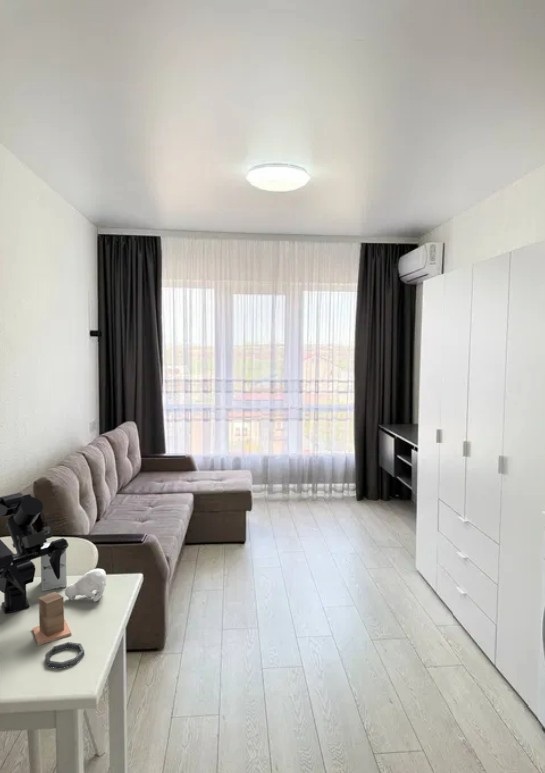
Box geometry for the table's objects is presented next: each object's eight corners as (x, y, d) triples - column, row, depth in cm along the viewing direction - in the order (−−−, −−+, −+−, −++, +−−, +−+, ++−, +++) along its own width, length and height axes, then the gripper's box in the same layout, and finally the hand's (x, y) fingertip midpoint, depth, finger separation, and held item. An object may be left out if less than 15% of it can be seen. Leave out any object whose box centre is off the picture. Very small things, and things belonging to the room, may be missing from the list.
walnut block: (39, 630, 131) (38, 597, 130) (55, 623, 134) (55, 591, 134) (47, 637, 128) (47, 603, 127) (64, 629, 132) (63, 596, 131)
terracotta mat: (32, 630, 132) (32, 627, 132) (64, 620, 137) (64, 618, 137) (38, 645, 126) (38, 642, 126) (71, 634, 130) (71, 632, 130)
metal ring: (43, 654, 122) (43, 649, 122) (78, 643, 127) (78, 638, 127) (50, 672, 115) (49, 667, 115) (87, 660, 120) (87, 655, 120)
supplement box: (41, 592, 153) (40, 552, 152) (41, 581, 160) (40, 543, 159) (67, 587, 156) (66, 548, 155) (66, 577, 163) (65, 539, 162)
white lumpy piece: (103, 573, 147) (60, 580, 144) (107, 600, 148) (64, 608, 145) (106, 563, 153) (64, 570, 151) (109, 590, 154) (68, 597, 151)
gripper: (-7, 529, 128) (12, 585, 122) (64, 510, 142) (84, 559, 136) (-17, 549, 134) (2, 603, 128) (52, 529, 148) (72, 577, 142)
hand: (42, 585), depth 133 cm, fingers open, 9 cm apart
